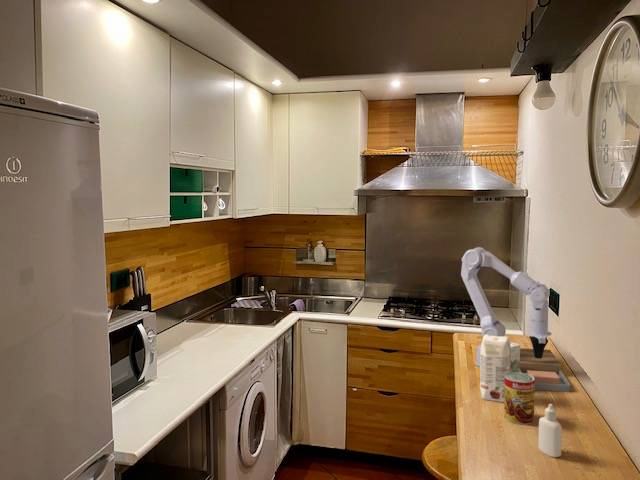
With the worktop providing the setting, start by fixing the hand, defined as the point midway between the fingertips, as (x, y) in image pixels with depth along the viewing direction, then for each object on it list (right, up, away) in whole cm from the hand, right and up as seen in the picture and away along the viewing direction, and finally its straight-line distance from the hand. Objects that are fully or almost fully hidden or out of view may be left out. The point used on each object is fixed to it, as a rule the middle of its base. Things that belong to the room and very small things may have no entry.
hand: (538, 357), depth 175 cm
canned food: (-21, -9, -35) cm, 41 cm away
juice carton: (-22, -8, -20) cm, 31 cm away
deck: (+2, -5, +7) cm, 9 cm away
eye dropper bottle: (-21, -11, -53) cm, 58 cm away
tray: (-2, -6, -8) cm, 11 cm away
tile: (-2, -4, -7) cm, 8 cm away
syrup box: (-15, -7, -11) cm, 20 cm away
